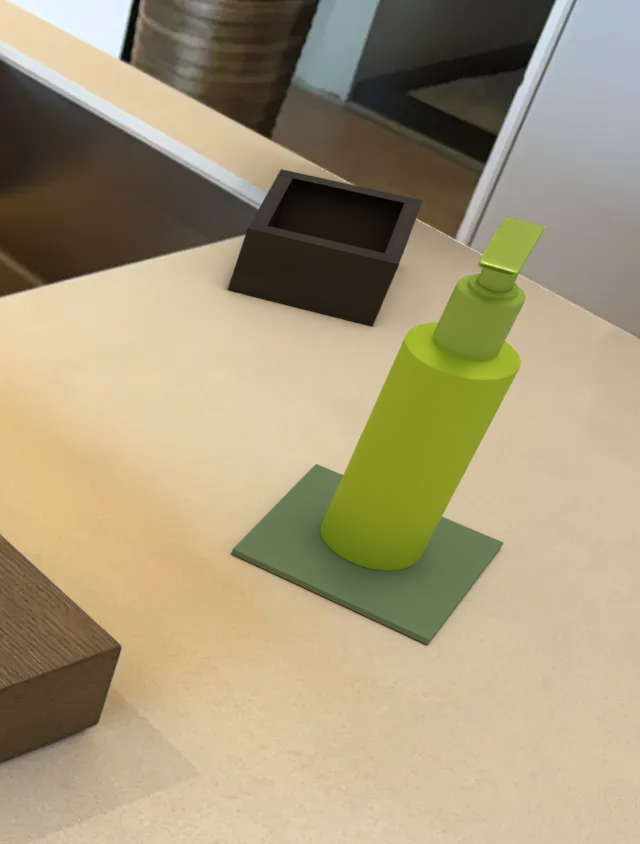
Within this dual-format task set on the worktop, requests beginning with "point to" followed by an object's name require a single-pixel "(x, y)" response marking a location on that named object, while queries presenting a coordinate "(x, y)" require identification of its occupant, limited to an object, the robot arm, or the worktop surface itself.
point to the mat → (358, 586)
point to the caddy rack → (325, 246)
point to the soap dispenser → (432, 414)
